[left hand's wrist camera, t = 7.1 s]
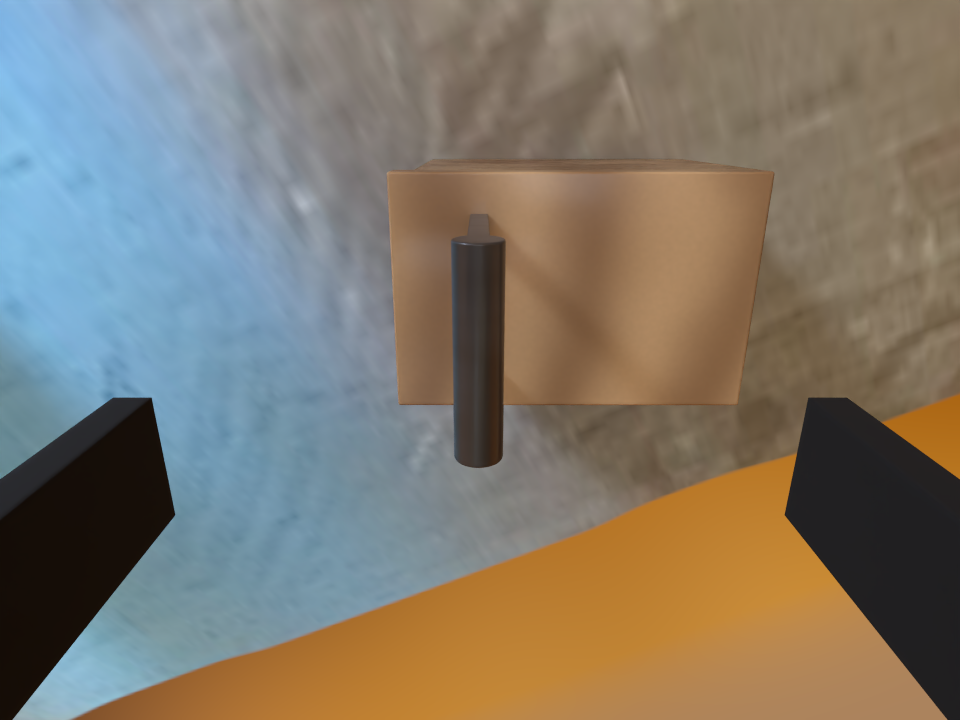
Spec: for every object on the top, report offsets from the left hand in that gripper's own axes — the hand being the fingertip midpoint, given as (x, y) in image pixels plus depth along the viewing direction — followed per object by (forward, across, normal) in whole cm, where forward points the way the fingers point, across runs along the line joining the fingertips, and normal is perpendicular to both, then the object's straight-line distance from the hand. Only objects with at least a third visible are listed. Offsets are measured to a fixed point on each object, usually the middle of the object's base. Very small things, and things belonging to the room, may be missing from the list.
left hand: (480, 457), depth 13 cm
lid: (+14, -4, 0) cm, 15 cm away
